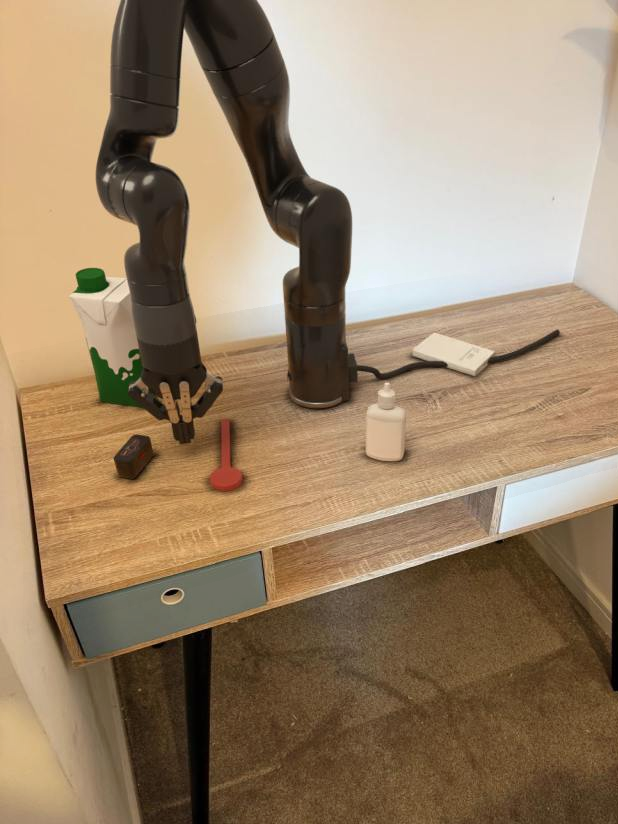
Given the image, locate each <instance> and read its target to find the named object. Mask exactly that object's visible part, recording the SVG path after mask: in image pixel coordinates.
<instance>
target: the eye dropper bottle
mask: <svg viewBox="0 0 618 824" xmlns="http://www.w3.org/2000/svg"><path fill="white" fill-rule="evenodd" d="M406 428H407V413H406V411H405V409H404V408H402V407H401V406H399V405H398V404H396V391H395V390H394V388H393V389H392V387H391V384H390V382H384V385H383V387H382V388H380V389H379V390H378V392H377V403H373V404H371V405H369V406H368V407H367V409H366V413H365V455H366V456H367V457H369V458H371V459H375V460H376V461H383V462H399V461H401V460H402V459H403V458H404V454H405V449H406V448H405V447H406V431H407V430H406Z"/></svg>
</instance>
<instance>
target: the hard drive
mask: <svg viewBox="0 0 618 824" xmlns="http://www.w3.org/2000/svg"><path fill="white" fill-rule="evenodd" d="M496 353H497V351H496V350H492V349H489V348H486V347H483V346H478V345H476V344H473V343H471V342H470V343H469V342H466V341H463V340H460V339H458V338H454V337H451V336H447V335H444V334H441V333H438V332H433V333H431V334H430V335H429V336H427V337H426V338H425V339H424V340H422V341H421V342H420V343H419V344H417V345H416V346H415V347H413V349H412V353H411V355H412V357H413V358H418V359H420V360H423V361H443V362H446V363H447V364H448V366H447V367H446V369H451V370H453V371H457V372H459V373H462V374H465V375H469V376H472V377H476V376H478V375H479V374H480V373H481V372H482V371H483V370H484V369H486V367H487V366H489V364H488V363H487V362H488V360H489V358H491V357H496Z"/></svg>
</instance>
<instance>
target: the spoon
mask: <svg viewBox="0 0 618 824" xmlns="http://www.w3.org/2000/svg"><path fill="white" fill-rule="evenodd" d="M220 420H221V421H220V422H221V424H220V425H221V426H220V427H221V428H220V429H221V432H220V433H221V434H220V435H221V436H220V437H221V439H220V440H221V441H220V442H221V448H220V449H221V467H219V468H217V469H215V470H213V471H212V472H211V473H210V475H209V482H210V485H211V487H212V488H213V489H215V490H216V491H221V492H228V491H229V492H230V491H233V490H236V489H238V488H239V487H240V486H242V483H243V474H242V472H241V470H239V469H238V468H236V467H233V466H232V465H231V422H230V418H222V419H220Z"/></svg>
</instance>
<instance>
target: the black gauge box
mask: <svg viewBox="0 0 618 824" xmlns="http://www.w3.org/2000/svg"><path fill="white" fill-rule="evenodd" d="M153 456H154V450H153V445H152V440H151V436H149V435H144V434H137V433H136V434H133V435H131V436H130V437H129V439H128V440H127V441H126V442H125V443H124V445H123V446H121V448H120V449H119V450H118V452H116V454H115V455H114V456H113V457H112V458H113V462H114V466H115V470H116V473H117V476H118V477H120V478H125V479H131V480H133V479H135V478H136V477H137V476H138V475H139V474H140V473H141V472H142V470H143V469H144V468H145V466H146V465H147V464H148V462H149V461H150V460H151V459H152V457H153Z"/></svg>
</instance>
